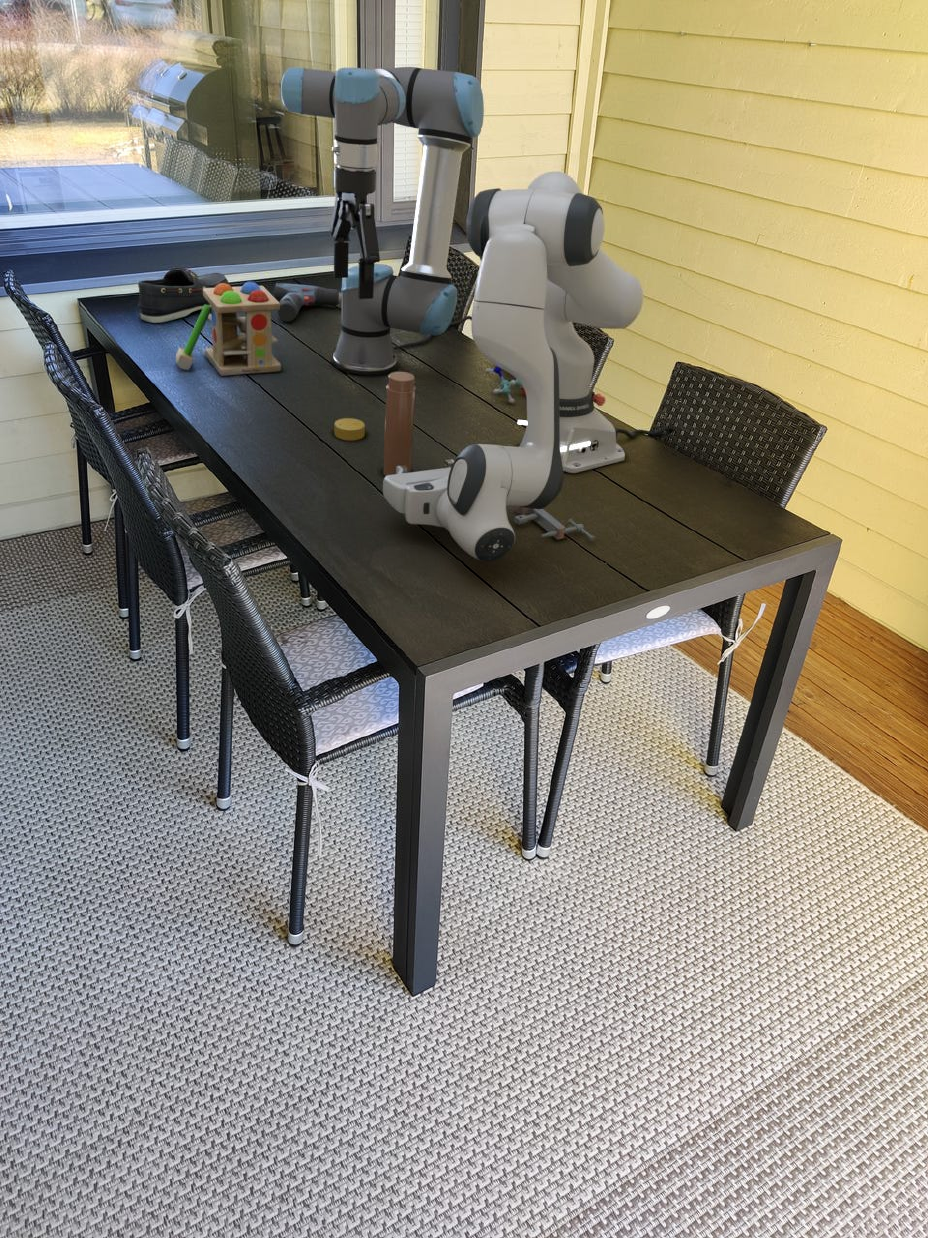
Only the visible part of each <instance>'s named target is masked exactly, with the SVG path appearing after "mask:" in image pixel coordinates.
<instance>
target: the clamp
mask: <svg viewBox="0 0 928 1238" xmlns="http://www.w3.org/2000/svg"><path fill="white" fill-rule="evenodd" d="M516 513H517V514H520V515H514V523H515V524H516V525H523V524H526V523H528V522H529V521H534V522H535V523H537V525H539V526H540V527H541V528H543V530H544V531H546V533H543V534H540V537H541V538H547V537H548V538H550V537H553V538H554V539H556V540H562V539H564V538H565V534H568V533H572V532H575V533H578V532H581V533H582V534H584V535H585V536H587V537H588V538H589V540H590V541H591V542H593V541H595V539H596V536H595V535H591V533H589V532H587V530H585V526H584V524H582V523H578V524H577V523H576V522H574V520H573V519H572V518H569V519H568V520H567V523H568V524H570V525H572V526H570V527H565V525H564V524H562V523H561V522H559V521H558V520H557V519H556V518H554V517H553V516H552V515H551V514H550V513H549V512H548V511H546V510H545V509H544V508H543V509H532V508H524V507H519V506H517V510H516Z"/></svg>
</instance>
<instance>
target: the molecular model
mask: <svg viewBox="0 0 928 1238" xmlns="http://www.w3.org/2000/svg"><path fill="white" fill-rule="evenodd" d="M502 370H503V369H501V368H500V367H498V366H496V365H495V367H494V368H490V367H487V368H486V369H485V373H486V374H490V373H493V372H494V373H496V374H498V376H499V378H500V381H501V382H500V387H498V388H494V389H493V390H492V393H493V394H494V395H500V394H501V393H502V394H504V395H507V398H508V403H509V404H511V405H513V404H514V403H515V398H512V396H511V388H512V387H513V386H515V385H516V386H517V387H519V389H520V390H521V392H522V393H523V396H525V397H526V392H525V390H524V388H523V386H522V384H521V383H520V382H519V381H518V380H517V379H516V378H515V379H511V381H508V380H507V379H505V378H504V376H503V374H502Z"/></svg>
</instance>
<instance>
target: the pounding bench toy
mask: <svg viewBox="0 0 928 1238" xmlns="http://www.w3.org/2000/svg"><path fill="white" fill-rule="evenodd" d="M203 296H204V297H205V299H206V300H207V301H208V302H209V304H210V305H211V307H210V306H208V305H204V307H203V309H201V312H200V313H199V316H198V318H197V320H196V322H195V324H194V327H193V329H192V331H191V332H190V333H191V334H190V336H189V338H188V340H187V343H186V344H185V347H184V348H182V347H180V346H179V347H178V349H177V351H176V354H175V357H174V358H175V362H176V365H177V366H178V368H179V369H182V370H185V371H189V370H190V369H191V367H192V365H193V363H194V356H193V351H194V348H195V347H196V345H197V342H198V340H199V337H200V336H201V333H202V332H203V329H204V326H205V325H206V322H207V320H209V321H210V322H211V336H212V337H211V338H212V339H211V340H212V348H205V349H204V352H205V353H204V355H205V357H206V359H208V361H209V363H210V364H211V365H212V366H213V367H214V369H215V370H216V371H217V372H218V374H219V375H220V376H222V377H223V376H234V375H235V376H236V375H246V374H247V375H250V374H262V373H275V372H281V370H282V364H281V363H280V362H279V360H278V359H277V358H276V357H275V356H274V355H273V348H272V347H273V345H272V344H276V343H278V342H279V341H278V339H277V338H276V337H275V336H274V334H272V311H278V310H280V302H278V301H277V300H276V299H275V296H273V295H272V294H271V293H270V292H269V290H268V289H267V288H266V287H264V285H259V284H257V283H256V282H255V281H247V282H245V283H244V284H243V285H242V286H232V285H230V284H229V285H228V284H226V283H221V284H218V285H217V286H216V287H215V288H204V289H203ZM238 313H244V314H245V315H244V316H238ZM238 329H239V331H240V333H239V334H238Z"/></svg>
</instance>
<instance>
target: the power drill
mask: <svg viewBox="0 0 928 1238" xmlns="http://www.w3.org/2000/svg"><path fill="white" fill-rule="evenodd" d="M274 298H275V299H276V300H277V301H278V302H279V303H280V310H277V315H278V318H279V319H280V320H281V321H284V322H292V321H293V320H295V318H296V317H297V316H298V314H299V312H300V310H301V309H302V307H303V306H306V307H309V306H312V307H313V306H338V305H339V304H342V292H340V291H339V290H338V289H335V288H334V289H332V288H325V287H321V286H316V285H307V284H297V283H281V282H276V283H275V285H274Z"/></svg>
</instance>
